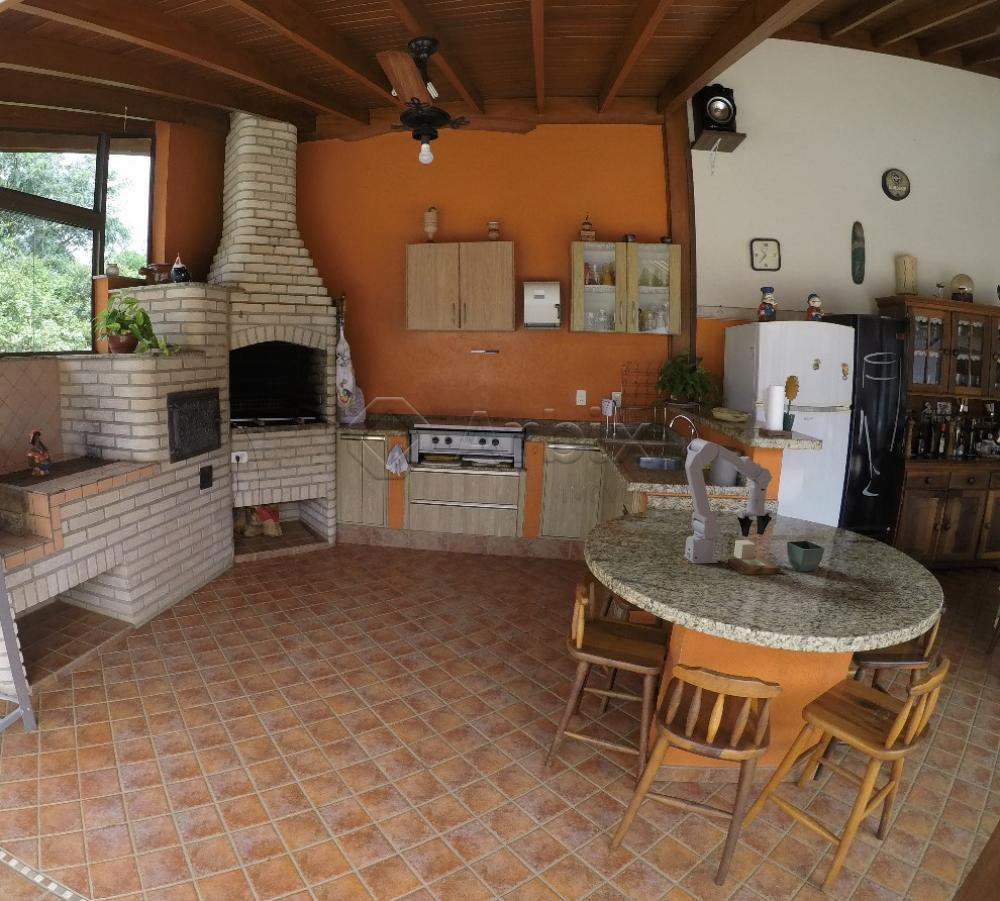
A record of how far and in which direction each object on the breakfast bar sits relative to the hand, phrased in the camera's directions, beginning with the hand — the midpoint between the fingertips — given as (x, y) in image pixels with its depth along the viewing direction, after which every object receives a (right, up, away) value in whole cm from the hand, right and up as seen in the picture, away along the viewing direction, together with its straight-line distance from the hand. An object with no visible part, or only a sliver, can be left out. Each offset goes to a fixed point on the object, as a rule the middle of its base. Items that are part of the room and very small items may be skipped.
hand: (752, 535), depth 231 cm
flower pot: (+14, -11, -9) cm, 20 cm away
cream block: (-3, -9, +1) cm, 9 cm away
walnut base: (-4, -10, -10) cm, 15 cm away
